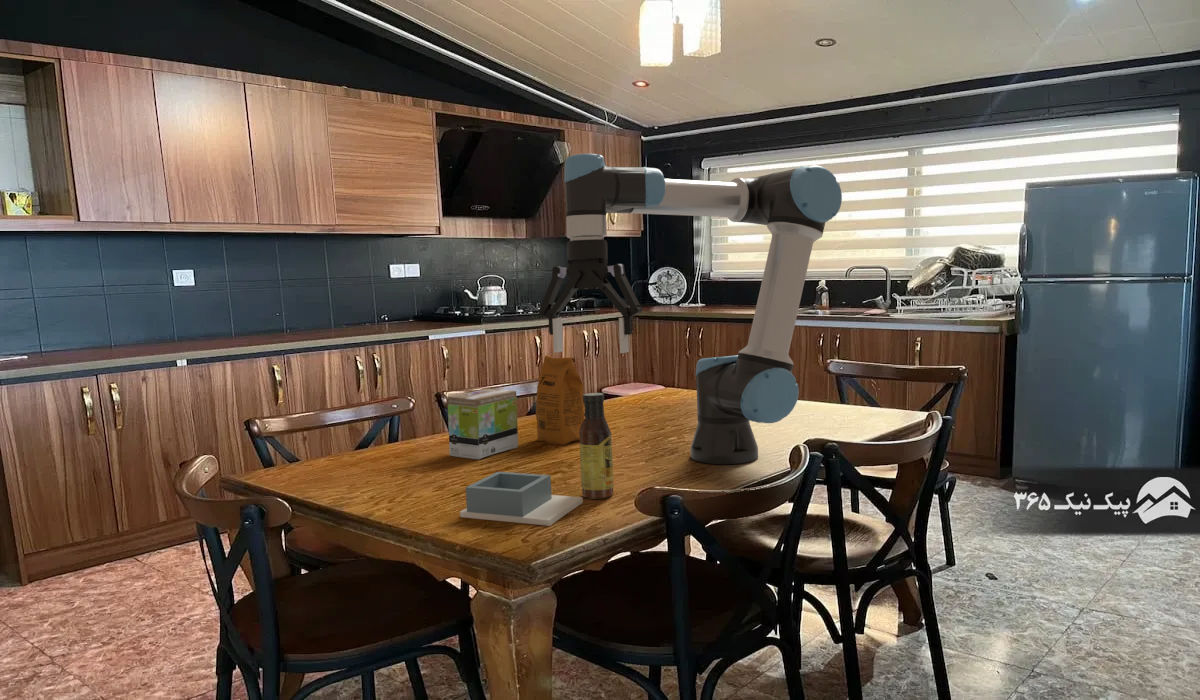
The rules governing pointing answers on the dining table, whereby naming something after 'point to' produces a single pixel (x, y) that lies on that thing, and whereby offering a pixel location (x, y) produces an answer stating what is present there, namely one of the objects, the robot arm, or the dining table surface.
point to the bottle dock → (517, 499)
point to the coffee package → (559, 401)
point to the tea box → (482, 423)
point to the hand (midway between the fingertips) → (591, 352)
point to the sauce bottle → (595, 450)
